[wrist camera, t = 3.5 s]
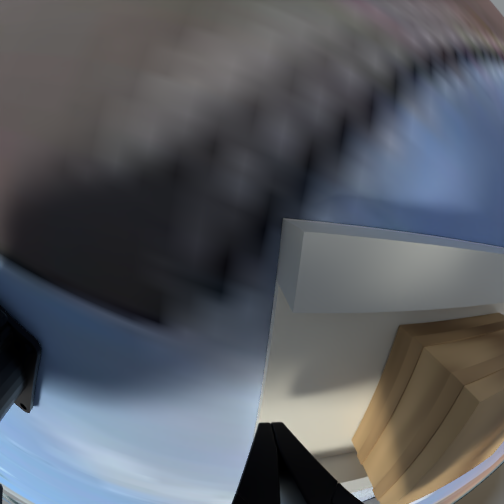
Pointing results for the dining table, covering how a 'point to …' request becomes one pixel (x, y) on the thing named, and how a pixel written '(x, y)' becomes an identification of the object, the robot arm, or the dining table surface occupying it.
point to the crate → (434, 407)
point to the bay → (358, 323)
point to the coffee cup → (372, 501)
